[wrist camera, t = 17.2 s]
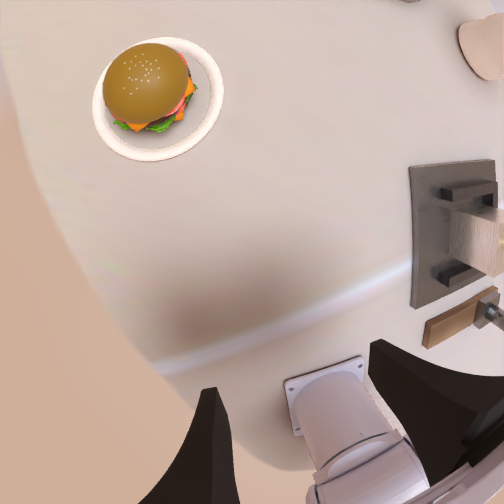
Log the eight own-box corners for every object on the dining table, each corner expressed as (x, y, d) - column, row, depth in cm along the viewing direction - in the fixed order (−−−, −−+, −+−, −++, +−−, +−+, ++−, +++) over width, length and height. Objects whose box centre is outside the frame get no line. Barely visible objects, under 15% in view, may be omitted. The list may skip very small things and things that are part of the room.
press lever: (489, 314, 26) (523, 339, 20) (473, 324, 26) (509, 352, 20) (494, 290, 25) (532, 313, 19) (478, 299, 25) (518, 325, 18)
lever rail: (488, 306, 28) (493, 309, 27) (422, 344, 26) (427, 349, 25) (492, 285, 27) (498, 288, 26) (426, 321, 25) (431, 326, 24)
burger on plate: (207, 207, 19) (207, 223, 14) (57, 158, 16) (16, 160, 11) (271, 55, 17) (292, 23, 12) (121, 14, 14) (101, -21, 9)
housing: (474, 245, 23) (522, 266, 16) (448, 255, 22) (500, 281, 16) (476, 202, 21) (528, 217, 15) (449, 208, 21) (506, 226, 15)
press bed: (486, 270, 25) (499, 277, 23) (410, 305, 24) (424, 316, 22) (489, 159, 21) (504, 161, 19) (409, 167, 20) (427, 169, 18)
